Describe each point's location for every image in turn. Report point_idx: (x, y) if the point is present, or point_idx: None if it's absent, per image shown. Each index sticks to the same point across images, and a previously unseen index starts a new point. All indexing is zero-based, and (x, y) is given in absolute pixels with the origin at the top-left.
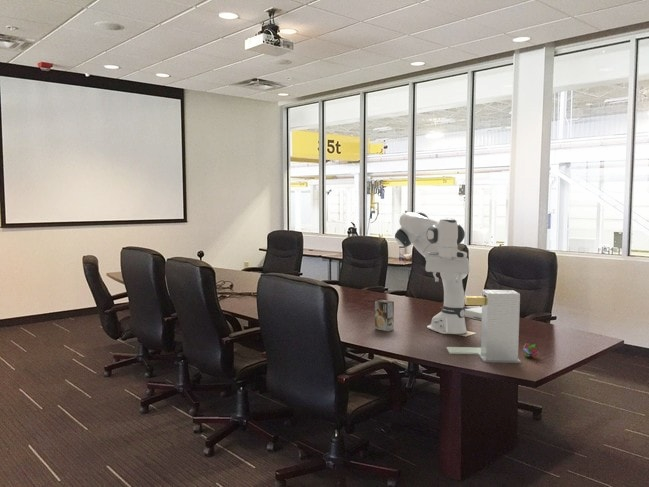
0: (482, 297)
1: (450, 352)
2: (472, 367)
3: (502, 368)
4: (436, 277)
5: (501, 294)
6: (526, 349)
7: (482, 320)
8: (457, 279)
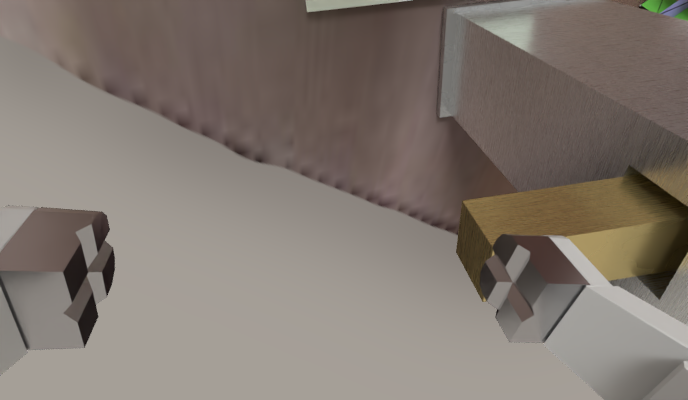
0: (626, 271)
1: (310, 11)
2: (378, 181)
3: (477, 170)
4: (5, 335)
5: None
6: (675, 8)
7: (544, 89)
8: (540, 335)
